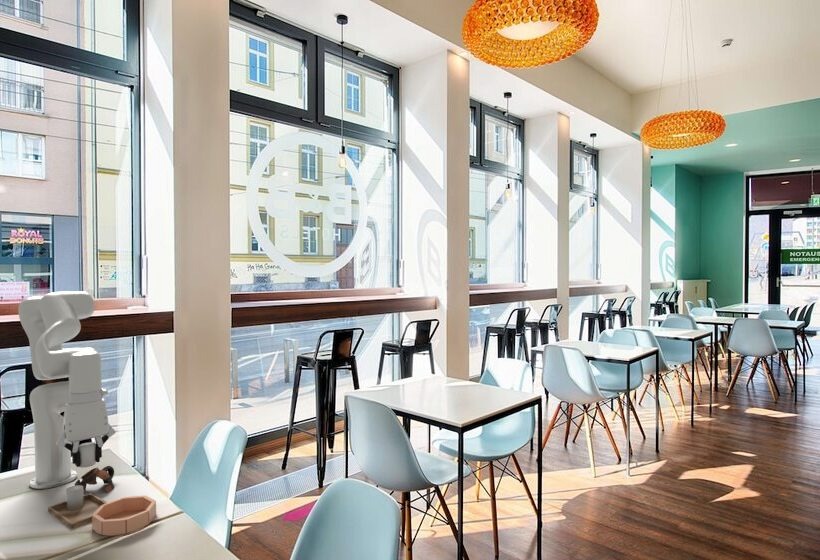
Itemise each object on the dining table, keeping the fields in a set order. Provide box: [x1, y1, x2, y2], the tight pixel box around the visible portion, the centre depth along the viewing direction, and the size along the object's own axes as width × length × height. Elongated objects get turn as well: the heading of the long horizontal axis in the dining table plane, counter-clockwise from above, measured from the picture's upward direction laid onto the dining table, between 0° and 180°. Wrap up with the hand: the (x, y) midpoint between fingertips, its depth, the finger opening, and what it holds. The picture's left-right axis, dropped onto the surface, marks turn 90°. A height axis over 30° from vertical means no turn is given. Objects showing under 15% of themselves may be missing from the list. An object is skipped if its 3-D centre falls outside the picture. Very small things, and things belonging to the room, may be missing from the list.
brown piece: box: [73, 465, 115, 493], centre depth 157 cm, size 12×10×8 cm
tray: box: [47, 492, 108, 530], centre depth 142 cm, size 16×11×2 cm
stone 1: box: [66, 485, 84, 511], centre depth 144 cm, size 4×4×6 cm
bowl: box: [91, 495, 157, 537], centre depth 136 cm, size 14×14×4 cm
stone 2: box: [78, 441, 97, 469], centre depth 139 cm, size 4×4×6 cm
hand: (87, 462), depth 139 cm, fingers closed on stone 2, 4 cm apart
